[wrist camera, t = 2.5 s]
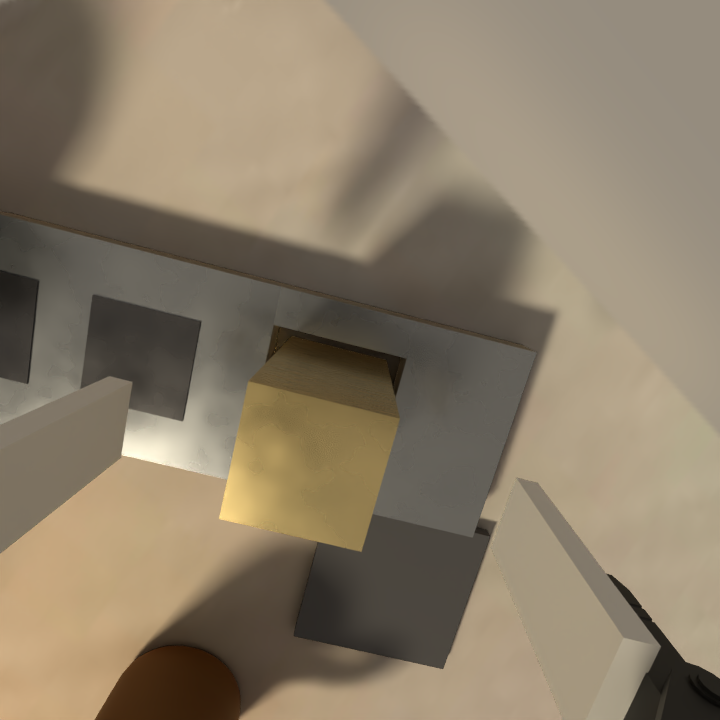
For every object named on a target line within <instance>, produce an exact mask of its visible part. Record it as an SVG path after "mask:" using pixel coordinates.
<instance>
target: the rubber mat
mask: <svg viewBox="0 0 720 720" xmlns="http://www.w3.org/2000/svg"><path fill="white" fill-rule="evenodd" d="M489 538H490V535H489V533H488V531H487V530H484V529H480V528H476V529H475V532H474V535H473V538H472V537H468V536H464V535H459V534H455V533H451V532H447V531H443V530H438V529H434V528H430V527H426V526H421V525H417V524H413V523H409V522H404V521H400V520H396V519H392V518H387V517H383V516H379V515H375V514H372V517H371V521H370V524H369V528H368V531H367V535H366V538H365V541H364V545H363V548H362V552H360V551H356V550H351V549H347V548H343V547H338V546H334V545H330V544H325V543H321V542H318V544H317V548H316V552H315V555H314V559H313V563H312V567H311V570H310V574H309V578H308V582H307V586H306V589H305V593H304V597H303V601H302V604H301V608H300V612H299V616H298V619H297V623H296V627H295V632H294V636H296V637H300V638H305V639H309V640H314V641H319V642H323V643H328V644H332V645H337V646H341V647H346V648H350V649H355V650H359V651H364V652H368V653H373V654H377V655H382V656H386V657H391V658H395V659H400V660H404V661H409V662H413V663H418V664H422V665H427V666H431V667H436V668H440V669H443V668H444V665H445V662H446V659H447V657H448V654H449V651H450V648H451V645H452V642H453V640H454V637H455V634H456V631H457V628H458V626H459V623H460V620H461V617H462V614H463V611H464V609H465V606H466V603H467V600H468V597H469V595H470V592H471V589H472V586H473V583H474V580H475V578H476V575H477V572H478V569H479V566H480V564H481V561H482V558H483V555H484V552H485V550H486V547H487V544H488V541H489Z"/></svg>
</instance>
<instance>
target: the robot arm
mask: <svg viewBox="0 0 720 720" xmlns="http://www.w3.org/2000/svg"><path fill="white" fill-rule="evenodd" d="M131 388H132V382H131V381H127V380H123V379H119V378H115V377H111V376H109V377H106V378H104V379H102V380H100V381H97V382H95V383H93V384H91V385H88V386H86V387H84V388H82V389H79V390H77V391H75V392H73V393H70V394H68V395H66V396H64V397H61V398H59V399H57V400H55V401H53V402H50V403H48V404H46V405H44V406H41V407H39V408H37V409H35V410H32V411H30V412H28V413H26V414H23V415H21V416H19V417H17V418H14V419H12V420H10V421H8V422H5V423H3V424H1V425H0V553H1V552H3V551H4V550H5V549H6V548H8V547H9V546H10V545H12V544H13V543H14V542H15V541H17V540H18V539H19V538H20V537H22V536H23V535H24V534H25V533H27V532H28V531H29V530H30V529H32V528H33V527H34V526H35V525H37V524H38V523H39V522H40V521H42V520H43V519H44V518H46V517H47V516H48V515H49V514H51V513H52V512H53V511H54V510H56V509H57V508H58V507H59V506H61V505H62V504H63V503H64V502H66V501H67V500H68V499H69V498H71V497H72V496H73V495H75V494H76V493H77V492H78V491H80V490H81V489H82V488H83V487H85V486H86V485H87V484H88V483H90V482H91V481H92V480H93V479H95V478H96V477H97V476H98V475H100V474H101V473H102V472H103V471H105V470H106V469H107V468H109V467H110V466H111V465H112V464H114V463H115V462H116V461H117V460H119V459H120V458H121V454H122V448H123V441H124V434H125V428H126V421H127V415H128V408H129V401H130V395H131ZM491 549H492V552H493V554H494V556H495V559H496V561H497V564H498V566H499V568H500V571H501V573H502V576H503V578H504V580H505V583H506V585H507V587H508V590H509V592H510V595H511V597H512V599H513V602H514V604H515V607H516V609H517V611H518V614H519V616H520V618H521V621H522V623H523V626H524V628H525V630H526V633H527V635H528V638H529V640H530V642H531V645H532V647H533V650H534V652H535V654H536V657H537V659H538V661H539V664H540V666H541V669H542V671H543V673H544V676H545V678H546V681H547V683H548V685H549V688H550V690H551V692H552V695H553V697H554V700H555V702H556V704H557V707H558V709H559V712H560V714H561V716H562V719H563V720H720V679H719V678H718V677H716V676H715V675H714V674H712V673H710V672H708V671H706V670H705V669H703V668H701V667H699V666H696V665H693V664H690V663H687V662H685V661H684V659H683V658H682V657H681V656H680V654H679V653H678V652H677V650H676V649H675V648H674V647H673V645H672V644H671V643H670V642H669V640H668V639H667V638H666V636H665V635H664V634H663V633H662V631H661V630H660V629H659V628H658V626H657V625H656V624H655V623H654V622H652V619H651V617H650V616H649V615H648V613H647V612H646V611H645V610H644V609H642V606H641V605H640V603H639V602H638V601H637V599H636V598H635V597H634V596H633V594H632V593H631V592H630V591H629V590H628V589H627V588H626V587H625V586H624V585H623V584H621V583H620V582H619V581H618V580H617V579H616V578H614V577H613V576H612V575H609V574H606V573H605V572H604V570H603V569H602V568H601V566H600V565H599V564H598V562H597V561H596V560H595V558H594V557H593V556H592V554H591V553H590V552H589V550H588V549H587V548H586V546H585V545H584V544H583V542H582V541H581V540H580V538H579V537H578V536H577V534H576V533H575V532H574V530H573V529H572V528H571V526H570V525H569V524H568V522H567V521H566V520H565V518H564V517H563V516H562V514H561V513H560V512H559V510H558V509H557V508H556V506H555V505H554V504H553V502H552V501H551V500H550V498H549V497H548V496H547V494H546V493H545V492H544V490H543V489H542V488H541V486H540V485H539V484H538V483H536V482H532V481H528V480H524V479H520V478H516V479H515V482H514V485H513V488H512V490H511V493H510V496H509V499H508V502H507V504H506V507H505V510H504V513H503V515H502V518H501V521H500V524H499V526H498V529H497V532H496V535H495V537H494V540H493V543H492V546H491Z"/></svg>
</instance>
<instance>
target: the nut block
mask: <svg viewBox="0 0 720 720" xmlns="http://www.w3.org/2000/svg"><path fill="white" fill-rule="evenodd" d="M399 421H400V416H399V412H398V408H397V403H396V399H395V395H394V391H393V386H392V382H391V378H390V373H389V369H388V365H387V361H386V360H385V359H381V358H377V357H373V356H369V355H365V354H361V353H357V352H353V351H349V350H345V349H341V348H337V347H333V346H329V345H325V344H321V343H317V342H314V341H310V340H306V339H302V338H298V337H294V336H291V337H290V339H289V340H288V341H287V342H286V343H285V344H284V345H283V346H282V347H281V348H280V349H279V350H278V351H277V352H276V353H275V354H274V355H273V356H272V357H271V358H270V359H269V360H268V361H267V362H266V363H265V364H264V365H263V366H262V368H261V369H260V370H259V371H258V372H257V373H256V374H255V375H254V376H253V377H252V378H251V379H250V380H249V381H248V385H247V390H246V394H245V399H244V404H243V409H242V413H241V418H240V423H239V428H238V432H237V437H236V442H235V447H234V451H233V456H232V461H231V465H230V470H229V475H228V480H227V484H226V489H225V494H224V499H223V503H222V508H221V513H220V518H219V519H222V520H227V521H231V522H235V523H239V524H244V525H248V526H252V527H257V528H261V529H265V530H270V531H274V532H278V533H282V534H287V535H291V536H295V537H300V538H304V539H308V540H313V541H317V542H321V543H325V544H330V545H334V546H338V547H343V548H347V549H351V550H356V551H360V552H362V548H363V545H364V541H365V538H366V535H367V531H368V528H369V524H370V521H371V517H372V514H373V510H374V507H375V504H376V500H377V497H378V493H379V490H380V486H381V483H382V479H383V476H384V473H385V469H386V466H387V462H388V459H389V455H390V452H391V448H392V445H393V442H394V438H395V435H396V431H397V428H398V424H399Z"/></svg>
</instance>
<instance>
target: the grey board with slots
mask: <svg viewBox="0 0 720 720" xmlns="http://www.w3.org/2000/svg"><path fill="white" fill-rule="evenodd" d="M280 327H284V328H288V329H292V330H296V331H300V332H303V333H307V334H311V335H315V336H319V337H323V338H327V339H331V340H335V341H339V342H343V343H347V344H351V345H355V346H359V347H363V348H367V349H371V350H375V351H378V352H382V353H386V354H390V355H394V356H398V357H401V360H400V363H399V367H398V370H397V374H396V378H395V381H394V385H393V391H394V395H395V399H396V403H397V408H398V412H399V416H400V421H399V424H398V428H397V431H396V435H395V438H394V442H393V445H392V448H391V452H390V455H389V459H388V462H387V466H386V469H385V473H384V476H383V479H382V483H381V486H380V490H379V493H378V497H377V500H376V504H375V507H374V510H373V514H375V515H379V516H383V517H387V518H392V519H396V520H400V521H404V522H409V523H413V524H417V525H421V526H426V527H430V528H434V529H438V530H443V531H447V532H451V533H455V534H459V535H464V536H468V537H472V538H473V535H474V532H475V529H476V526H477V524H478V521H479V518H480V515H481V512H482V509H483V506H484V503H485V500H486V498H487V495H488V492H489V489H490V486H491V483H492V480H493V477H494V474H495V472H496V469H497V466H498V463H499V460H500V457H501V454H502V451H503V448H504V446H505V443H506V440H507V437H508V434H509V431H510V428H511V425H512V422H513V420H514V417H515V414H516V411H517V408H518V405H519V402H520V399H521V396H522V394H523V391H524V388H525V385H526V382H527V379H528V376H529V373H530V370H531V368H532V365H533V362H534V359H535V356H536V353H537V352H535V351H533V350H531V349H529V348H527V347H525V346H523V345H521V344H517V343H513V342H509V341H505V340H501V339H497V338H494V337H490V336H486V335H482V334H478V333H474V332H470V331H466V330H463V329H459V328H455V327H451V326H447V325H443V324H439V323H435V322H432V321H428V320H424V319H420V318H416V317H412V316H408V315H404V314H401V313H397V312H393V311H389V310H385V309H381V308H377V307H373V306H370V305H366V304H362V303H358V302H354V301H350V300H346V299H342V298H339V297H335V296H331V295H327V294H323V293H319V292H315V291H311V290H308V289H304V288H300V287H296V286H292V285H288V284H284V283H280V282H277V281H273V280H269V279H265V278H261V277H257V276H253V275H249V274H245V273H242V272H238V271H234V270H230V269H226V268H222V267H218V266H214V265H211V264H207V263H203V262H199V261H195V260H191V259H187V258H183V257H180V256H176V255H172V254H168V253H164V252H160V251H156V250H152V249H149V248H145V247H141V246H137V245H133V244H129V243H125V242H121V241H118V240H114V239H110V238H106V237H102V236H98V235H94V234H90V233H87V232H83V231H79V230H75V229H71V228H67V227H63V226H59V225H56V224H52V223H48V222H44V221H40V220H36V219H32V218H28V217H25V216H21V215H17V214H13V213H7V212H0V425H1V424H3V423H5V422H8V421H10V420H12V419H14V418H17V417H19V416H21V415H23V414H26V413H28V412H30V411H32V410H35V409H37V408H39V407H41V406H44V405H46V404H48V403H50V402H53V401H55V400H57V399H59V398H61V397H64V396H66V395H68V394H70V393H73V392H75V391H77V390H79V389H82V388H84V387H86V386H88V385H91V384H93V383H95V382H97V381H100V380H102V379H104V378H106V377H109V376H111V377H115V378H119V379H123V380H127V381H131V382H132V388H131V395H130V401H129V408H128V415H127V421H126V428H125V434H124V441H123V448H122V454H121V455H125V456H129V457H133V458H138V459H142V460H146V461H150V462H155V463H159V464H163V465H167V466H171V467H176V468H180V469H184V470H188V471H193V472H197V473H201V474H205V475H210V476H214V477H218V478H222V479H227V480H228V475H229V470H230V465H231V461H232V456H233V451H234V447H235V442H236V437H237V432H238V428H239V423H240V418H241V413H242V409H243V404H244V399H245V394H246V390H247V385H248V381H249V380H250V379H251V378H252V377H253V376H254V375H255V374H256V373H257V372H258V371H259V370H260V369H261V368H262V366H263V365H264V364H265V363H266V362H267V361H268V360H269V359H270V358H271V357H272V356H273V355H274V350H275V346H276V341H277V337H278V332H279V328H280Z"/></svg>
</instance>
